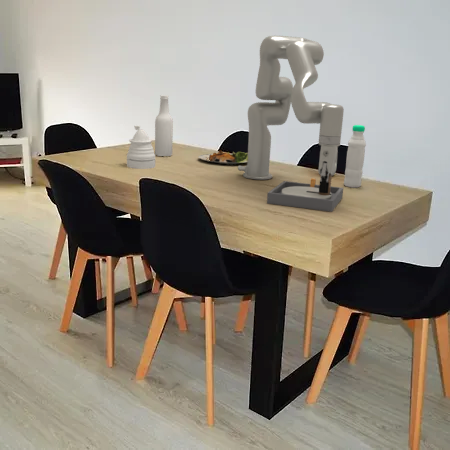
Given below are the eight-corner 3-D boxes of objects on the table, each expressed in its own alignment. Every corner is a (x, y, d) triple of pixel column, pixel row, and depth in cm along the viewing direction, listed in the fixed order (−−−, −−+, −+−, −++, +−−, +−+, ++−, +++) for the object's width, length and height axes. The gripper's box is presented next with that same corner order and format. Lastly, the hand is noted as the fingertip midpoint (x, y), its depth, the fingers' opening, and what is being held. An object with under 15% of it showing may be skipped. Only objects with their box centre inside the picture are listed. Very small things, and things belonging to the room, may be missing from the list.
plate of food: (265, 163, 274) (266, 150, 272) (228, 168, 254) (228, 155, 253) (224, 156, 292) (224, 145, 291) (186, 161, 272) (186, 148, 271)
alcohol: (171, 157, 276) (172, 96, 268) (153, 156, 276) (154, 95, 268) (173, 154, 285) (174, 95, 276) (156, 153, 285) (156, 94, 276)
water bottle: (351, 188, 224) (358, 126, 217) (340, 184, 230) (346, 124, 223) (364, 187, 228) (371, 126, 221) (353, 183, 234) (359, 124, 226)
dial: (275, 197, 196) (277, 174, 193) (288, 188, 212) (289, 166, 209) (326, 204, 190) (328, 180, 187) (335, 193, 206) (337, 171, 204)
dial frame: (266, 203, 195) (268, 186, 193) (283, 190, 216) (284, 175, 214) (331, 211, 187) (333, 194, 185) (342, 197, 208) (344, 181, 207)
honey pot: (121, 166, 248) (120, 126, 242) (136, 162, 259) (136, 123, 254) (146, 169, 243) (146, 128, 238) (160, 165, 255) (160, 126, 249)
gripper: (336, 144, 184) (331, 197, 189) (343, 138, 199) (338, 188, 204) (314, 142, 186) (309, 195, 192) (323, 137, 202) (318, 185, 207)
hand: (324, 190), depth 198 cm, fingers closed on dial, 4 cm apart
